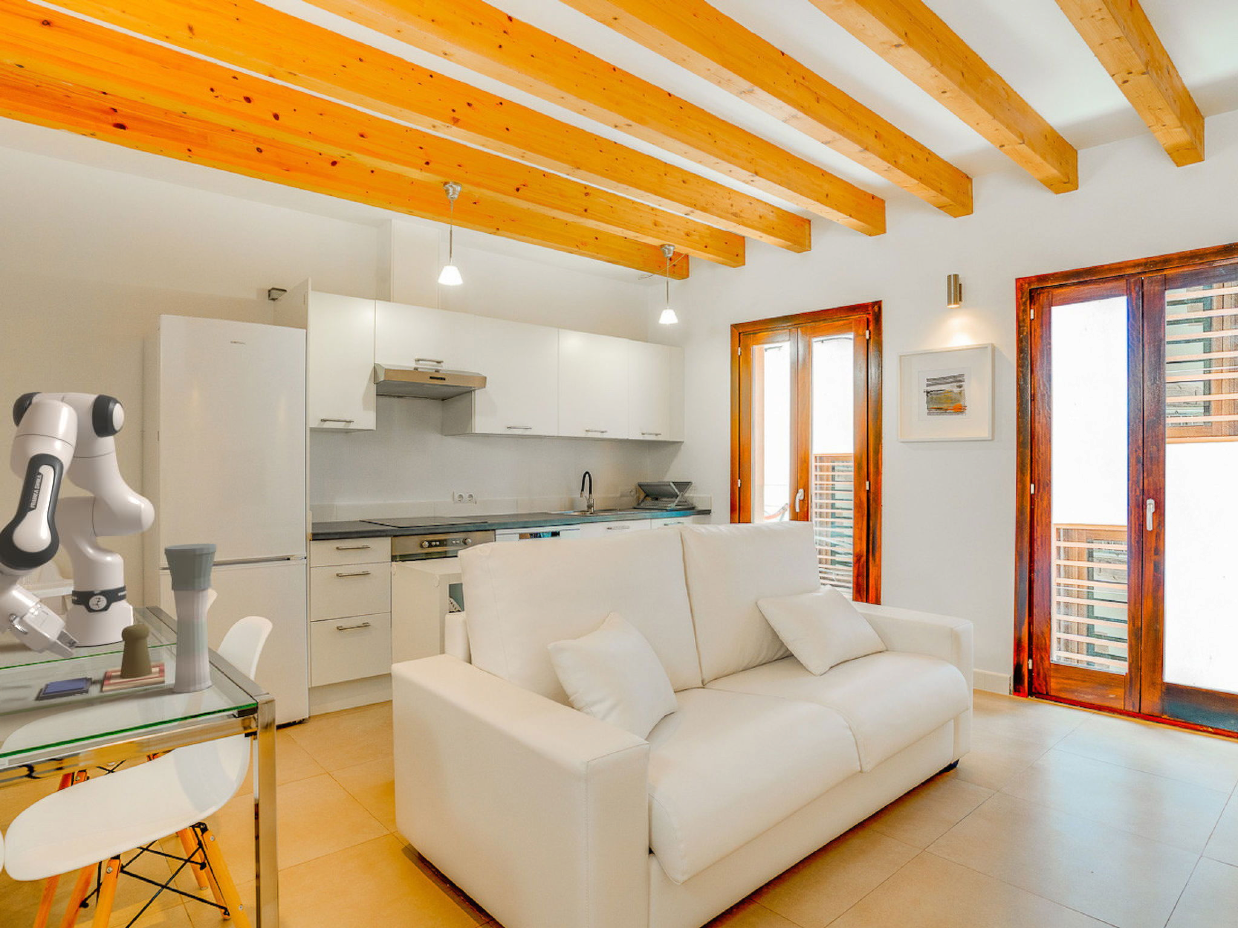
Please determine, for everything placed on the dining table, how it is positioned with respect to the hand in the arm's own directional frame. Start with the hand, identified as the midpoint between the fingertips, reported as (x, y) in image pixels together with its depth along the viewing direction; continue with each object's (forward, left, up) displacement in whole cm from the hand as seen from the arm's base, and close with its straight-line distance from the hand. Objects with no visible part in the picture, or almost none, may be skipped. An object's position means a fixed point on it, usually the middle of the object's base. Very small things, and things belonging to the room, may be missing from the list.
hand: (73, 651), depth 155 cm
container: (+16, +21, -8) cm, 28 cm away
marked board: (0, +11, -7) cm, 13 cm away
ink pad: (+3, -1, -7) cm, 8 cm away
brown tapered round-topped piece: (0, +11, -7) cm, 13 cm away
